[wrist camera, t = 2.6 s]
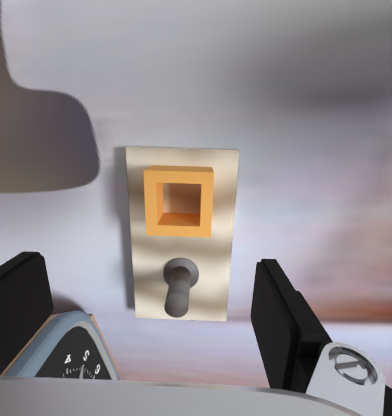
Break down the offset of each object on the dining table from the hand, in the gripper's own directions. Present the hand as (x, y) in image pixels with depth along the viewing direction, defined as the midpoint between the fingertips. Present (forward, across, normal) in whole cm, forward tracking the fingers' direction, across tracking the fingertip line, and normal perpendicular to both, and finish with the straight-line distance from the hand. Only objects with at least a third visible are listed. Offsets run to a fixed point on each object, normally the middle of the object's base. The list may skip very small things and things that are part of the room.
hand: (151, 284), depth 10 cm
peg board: (+18, 0, +6) cm, 19 cm away
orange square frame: (+16, 0, 0) cm, 16 cm away
